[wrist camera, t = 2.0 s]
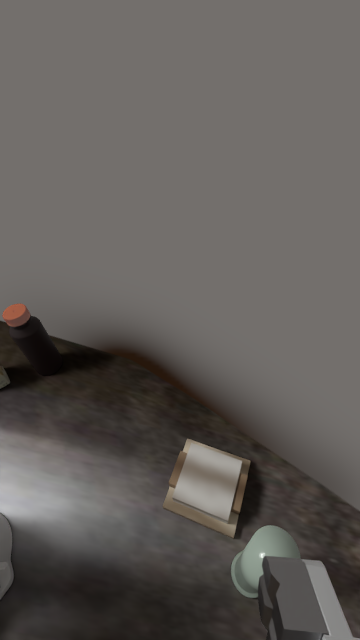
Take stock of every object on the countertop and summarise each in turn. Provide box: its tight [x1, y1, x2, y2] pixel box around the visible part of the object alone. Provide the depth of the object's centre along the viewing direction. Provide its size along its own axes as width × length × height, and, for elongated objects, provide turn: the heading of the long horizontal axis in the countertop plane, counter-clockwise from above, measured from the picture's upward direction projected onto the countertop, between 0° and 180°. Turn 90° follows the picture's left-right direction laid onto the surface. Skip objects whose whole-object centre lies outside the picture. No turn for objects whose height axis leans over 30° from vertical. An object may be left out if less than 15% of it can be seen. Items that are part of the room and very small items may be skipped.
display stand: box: [163, 439, 251, 539], centre depth 56 cm, size 13×13×4 cm
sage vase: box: [231, 526, 301, 598], centre depth 39 cm, size 6×6×26 cm
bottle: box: [2, 304, 63, 375], centre depth 72 cm, size 7×7×20 cm
